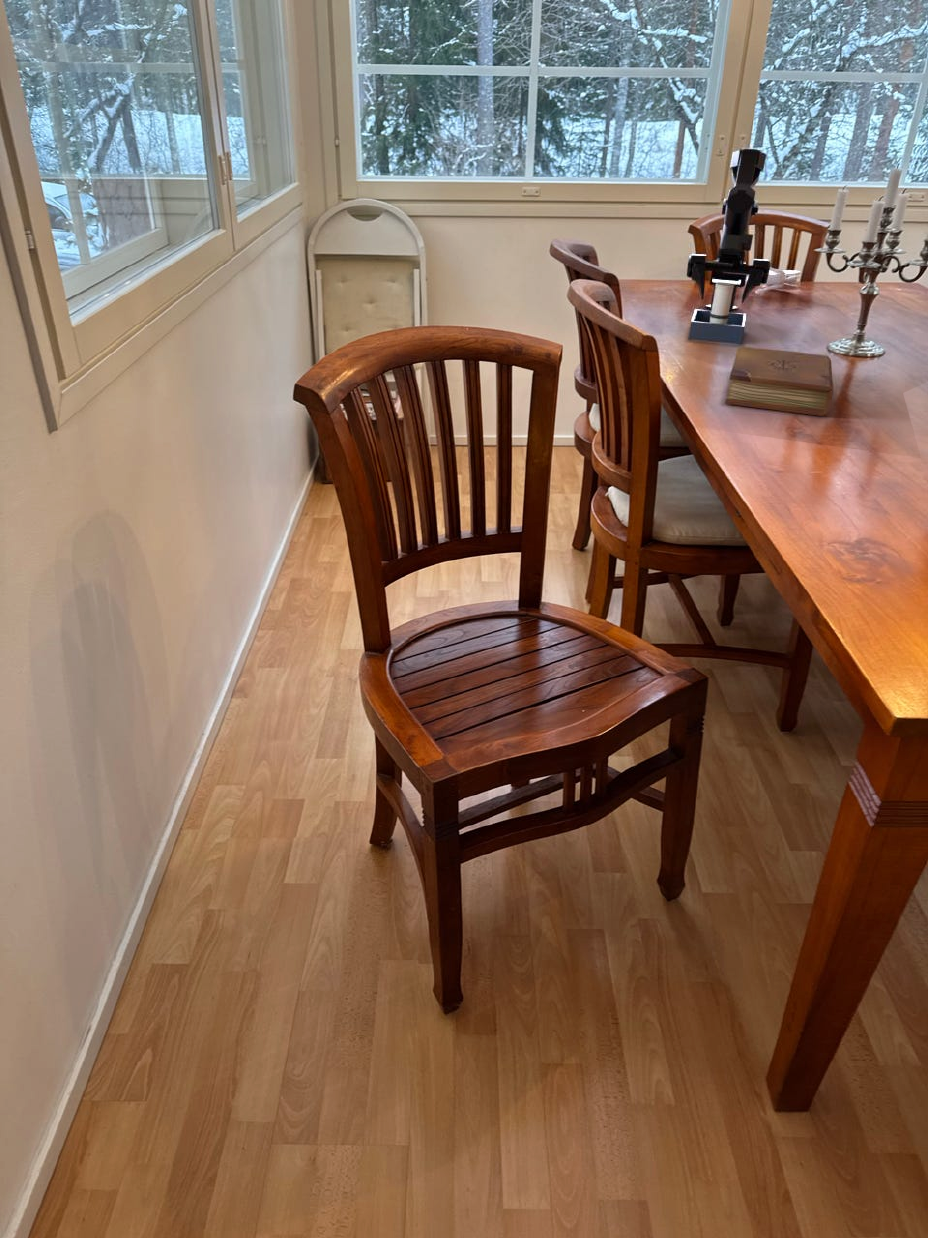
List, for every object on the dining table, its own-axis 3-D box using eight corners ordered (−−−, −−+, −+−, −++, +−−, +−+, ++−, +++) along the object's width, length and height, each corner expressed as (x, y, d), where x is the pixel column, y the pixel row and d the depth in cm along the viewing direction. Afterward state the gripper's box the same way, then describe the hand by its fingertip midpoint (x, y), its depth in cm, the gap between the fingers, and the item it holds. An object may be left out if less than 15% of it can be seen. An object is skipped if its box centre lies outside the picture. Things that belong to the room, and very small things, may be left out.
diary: (826, 417, 164) (834, 387, 160) (724, 404, 168) (730, 374, 165) (825, 382, 182) (832, 354, 179) (733, 372, 187) (738, 344, 184)
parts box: (691, 328, 218) (695, 309, 215) (742, 333, 215) (746, 313, 213) (687, 341, 207) (691, 321, 205) (740, 346, 204) (744, 326, 202)
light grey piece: (713, 333, 212) (722, 281, 205) (728, 337, 209) (737, 284, 203) (703, 336, 209) (712, 283, 203) (718, 339, 207) (727, 286, 200)
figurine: (728, 261, 252) (801, 263, 245) (732, 263, 262) (803, 264, 255) (724, 293, 255) (796, 295, 248) (728, 293, 265) (798, 296, 258)
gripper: (695, 216, 203) (683, 275, 200) (778, 222, 199) (768, 282, 196) (692, 247, 214) (681, 304, 211) (771, 253, 209) (761, 311, 206)
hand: (722, 300), depth 205 cm, fingers open, 9 cm apart
